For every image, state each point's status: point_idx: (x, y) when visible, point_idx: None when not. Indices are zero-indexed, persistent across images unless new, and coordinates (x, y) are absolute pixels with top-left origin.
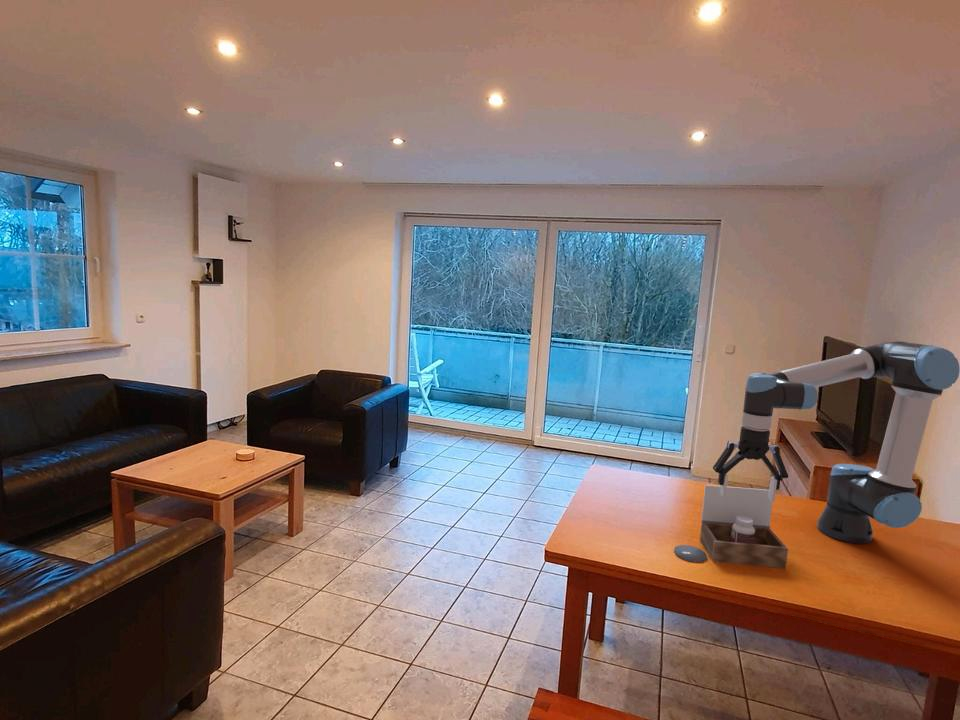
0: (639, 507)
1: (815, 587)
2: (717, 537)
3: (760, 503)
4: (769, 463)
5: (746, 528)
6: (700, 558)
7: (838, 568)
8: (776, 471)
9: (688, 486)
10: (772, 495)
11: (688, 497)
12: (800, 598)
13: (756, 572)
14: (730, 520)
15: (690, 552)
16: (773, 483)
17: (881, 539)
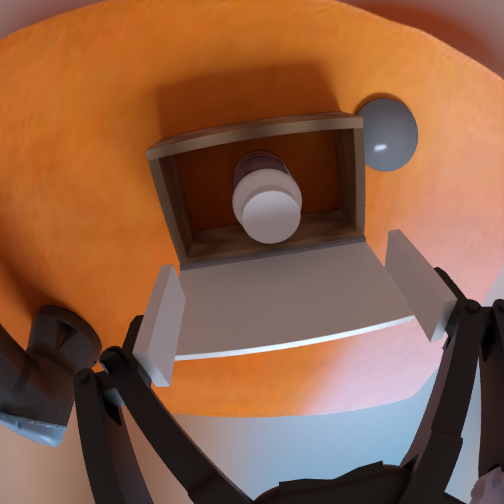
0: None
1: (113, 76)
2: (312, 219)
3: (206, 313)
4: (179, 463)
5: (265, 184)
6: (371, 109)
7: (61, 195)
8: (130, 405)
9: (298, 405)
10: (166, 283)
11: (310, 378)
12: (160, 9)
13: (239, 87)
14: (290, 258)
15: (387, 135)
16: (155, 337)
17: (29, 326)
